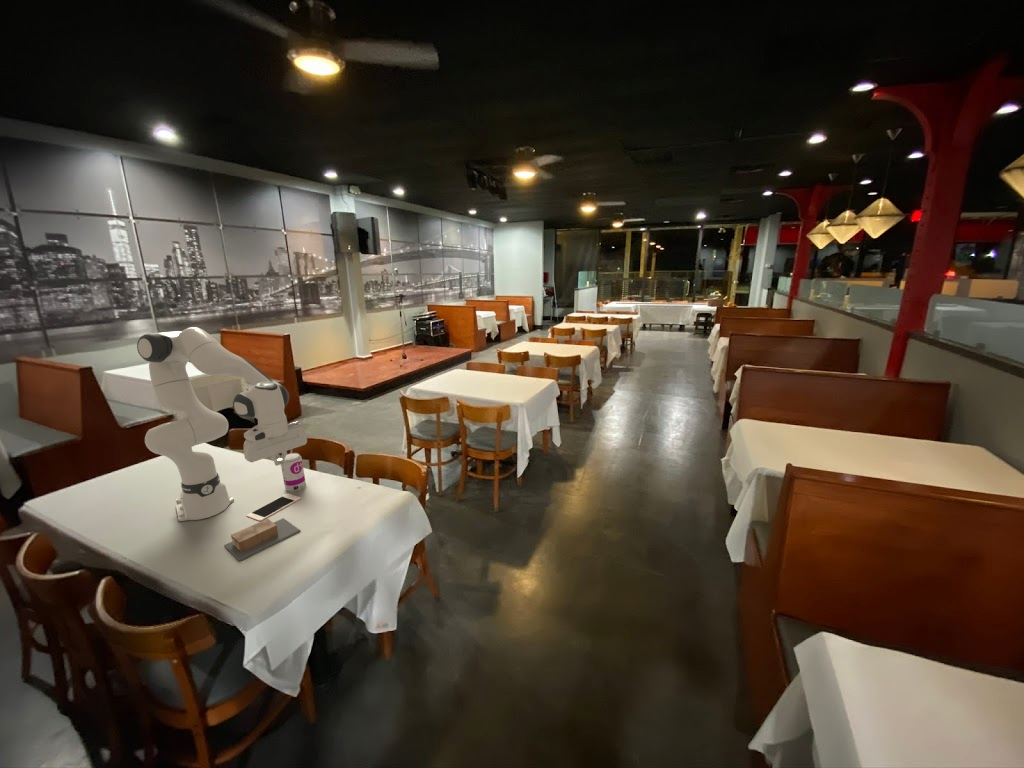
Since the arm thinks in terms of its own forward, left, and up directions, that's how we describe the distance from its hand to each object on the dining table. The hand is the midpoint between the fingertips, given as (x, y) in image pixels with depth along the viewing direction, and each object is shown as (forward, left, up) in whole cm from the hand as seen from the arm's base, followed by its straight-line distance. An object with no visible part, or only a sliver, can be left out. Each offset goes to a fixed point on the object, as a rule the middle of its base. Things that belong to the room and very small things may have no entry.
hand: (280, 464), depth 148 cm
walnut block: (0, -6, -22) cm, 23 cm away
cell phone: (-18, +2, -26) cm, 31 cm away
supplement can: (-27, +15, -25) cm, 40 cm away
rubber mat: (0, -10, -25) cm, 27 cm away
